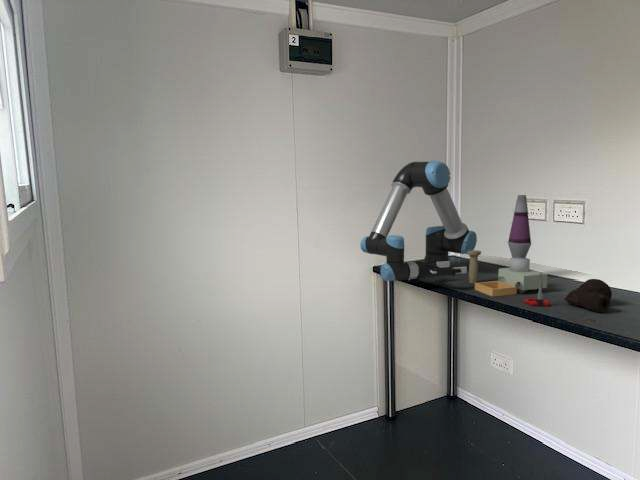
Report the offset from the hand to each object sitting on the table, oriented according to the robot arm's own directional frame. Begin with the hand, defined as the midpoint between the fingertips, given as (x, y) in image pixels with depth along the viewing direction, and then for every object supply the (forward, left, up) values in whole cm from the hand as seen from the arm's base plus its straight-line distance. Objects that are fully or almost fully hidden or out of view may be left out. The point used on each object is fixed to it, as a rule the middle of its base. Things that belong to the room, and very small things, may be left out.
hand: (457, 266), depth 210 cm
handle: (-3, +8, -9) cm, 12 cm away
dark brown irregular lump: (+33, +43, -9) cm, 55 cm away
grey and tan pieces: (+10, +20, -8) cm, 24 cm away
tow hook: (+29, +24, -9) cm, 39 cm away
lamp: (-11, +31, -9) cm, 34 cm away
